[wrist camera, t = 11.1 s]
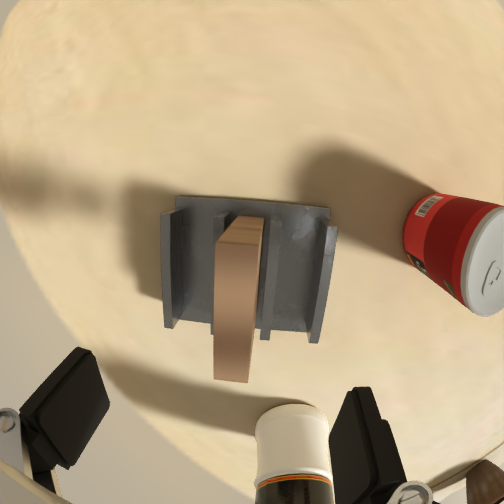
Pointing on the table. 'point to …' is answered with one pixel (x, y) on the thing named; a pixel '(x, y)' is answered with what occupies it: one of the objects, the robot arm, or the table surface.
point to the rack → (271, 269)
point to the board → (236, 297)
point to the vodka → (293, 456)
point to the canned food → (459, 248)
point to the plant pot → (485, 484)
